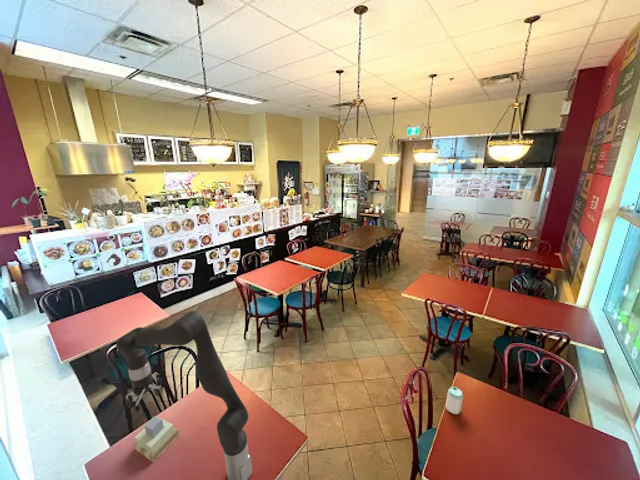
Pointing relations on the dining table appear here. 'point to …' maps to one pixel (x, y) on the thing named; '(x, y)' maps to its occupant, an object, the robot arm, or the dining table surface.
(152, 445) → the top block
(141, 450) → the base block
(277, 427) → the dining table surface
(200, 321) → the robot arm
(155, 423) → the slate cube
